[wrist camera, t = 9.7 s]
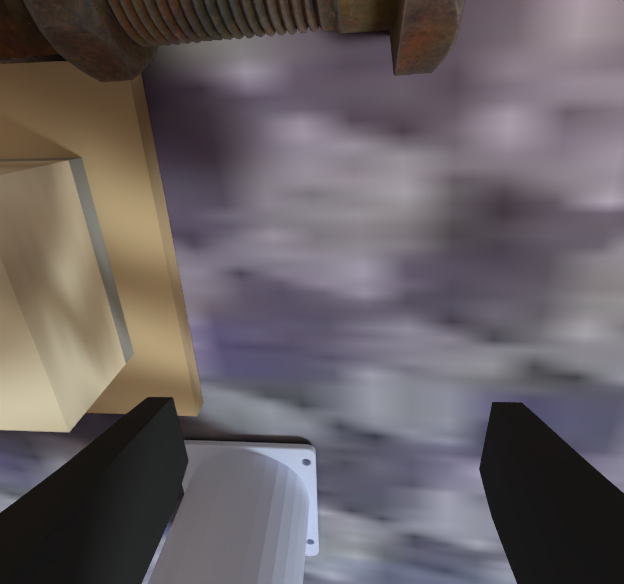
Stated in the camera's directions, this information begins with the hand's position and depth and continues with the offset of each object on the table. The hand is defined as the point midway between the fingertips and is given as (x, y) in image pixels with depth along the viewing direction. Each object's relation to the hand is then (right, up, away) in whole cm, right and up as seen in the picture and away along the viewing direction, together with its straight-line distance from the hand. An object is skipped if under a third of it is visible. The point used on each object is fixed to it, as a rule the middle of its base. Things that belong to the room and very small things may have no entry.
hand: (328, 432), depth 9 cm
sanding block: (-12, +4, +8) cm, 15 cm away
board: (-11, +5, +9) cm, 15 cm away
